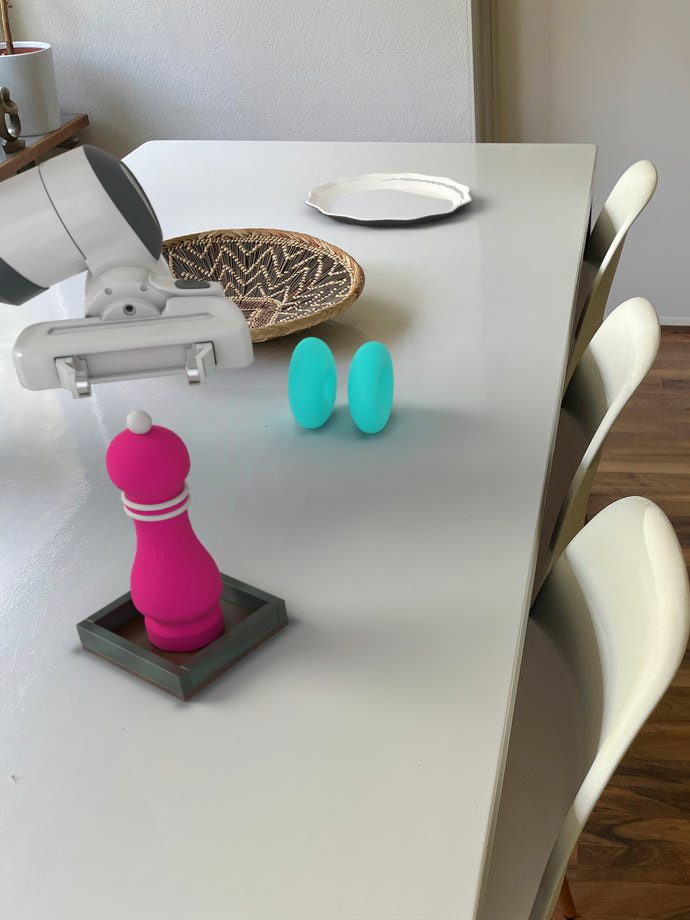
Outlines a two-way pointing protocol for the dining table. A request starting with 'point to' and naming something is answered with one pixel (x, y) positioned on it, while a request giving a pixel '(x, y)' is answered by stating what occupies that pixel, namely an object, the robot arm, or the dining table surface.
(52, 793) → the dining table surface
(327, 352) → the donuts
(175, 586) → the pepper mill
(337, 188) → the plate
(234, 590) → the square tray
